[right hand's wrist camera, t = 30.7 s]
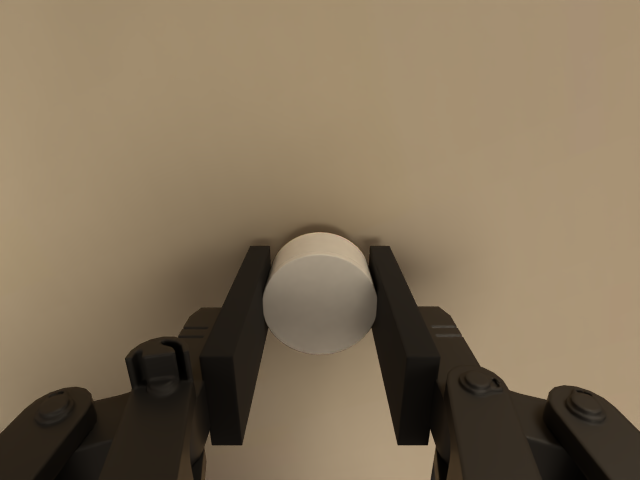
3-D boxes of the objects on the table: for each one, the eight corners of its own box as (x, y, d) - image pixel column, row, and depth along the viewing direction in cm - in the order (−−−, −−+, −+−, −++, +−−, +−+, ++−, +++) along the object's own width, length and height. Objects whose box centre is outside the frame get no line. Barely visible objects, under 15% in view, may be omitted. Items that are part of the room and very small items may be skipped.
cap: (249, 278, 15) (237, 307, 13) (320, 210, 14) (320, 230, 12) (319, 337, 16) (319, 373, 14) (390, 279, 15) (401, 308, 13)
